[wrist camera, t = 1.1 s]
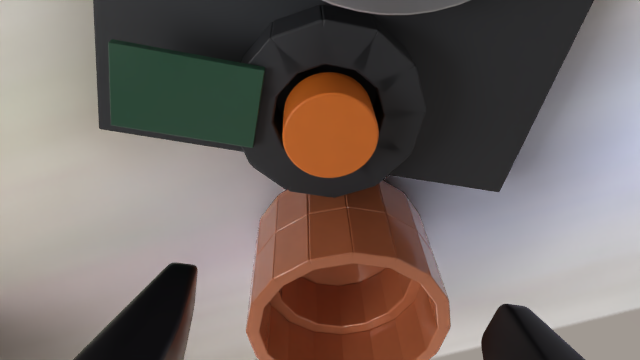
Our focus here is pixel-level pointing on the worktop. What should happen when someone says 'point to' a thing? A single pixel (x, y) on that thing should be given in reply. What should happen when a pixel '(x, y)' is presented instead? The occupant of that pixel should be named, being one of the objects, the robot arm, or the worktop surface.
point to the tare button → (329, 125)
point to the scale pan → (206, 84)
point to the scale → (372, 76)
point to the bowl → (345, 280)
